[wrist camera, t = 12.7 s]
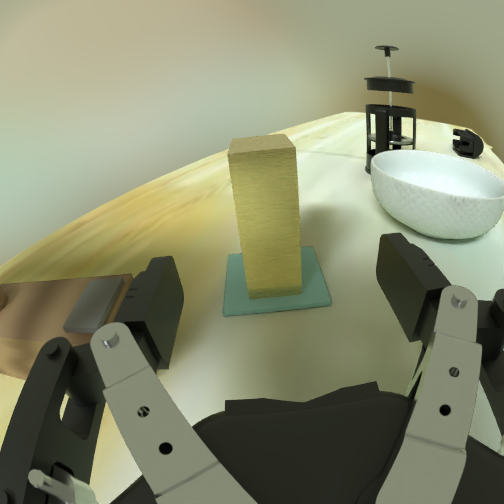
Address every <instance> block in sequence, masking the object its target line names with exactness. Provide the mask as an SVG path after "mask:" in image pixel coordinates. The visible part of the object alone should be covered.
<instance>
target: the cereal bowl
mask: <svg viewBox="0 0 504 504" xmlns="http://www.w3.org/2000/svg"><path fill="white" fill-rule="evenodd" d="M371 181H372V187H373V191H374V193H375V196H376V197H377V200H378V201H379V202H380V204H381V205H382V206H383V208H384V209H385V210H386V211H387V212H388V213H389V214H390V215H391V216H393V217H394V218H395V219H397V220H398V221H399V222H402V223H403V224H405V225H407V226H408V227H411V228H412V229H413V230H415V231H417V232H419V233H421V234H423V235H425V236H428V237H432V238H436V239H466V238H474V237H477V236H480V235H483V234H484V233H487V232H488V231H489V230H491V229H492V228H493V227H494V226H495V225H496V224H497V222H498V221H499V219H500V218H501V215H502V213H503V211H504V182H503V181H502V180H501V179H500V178H499V177H498V176H496V175H495V174H493V173H492V172H490V171H489V170H487V169H485V168H483V167H481V166H479V165H477V164H475V163H472V162H470V161H467V160H464V159H461V158H458V157H454V156H450V155H446V154H442V153H437V152H430V151H422V150H392V151H386V152H382V153H379V154H377V155H375V156H374V157H373V158H372V160H371Z"/></svg>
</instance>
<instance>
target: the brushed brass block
mask: <svg viewBox="0 0 504 504" xmlns="http://www.w3.org/2000/svg"><path fill="white" fill-rule="evenodd" d="M228 161H229V168H230V175H231V182H232V189H233V196H234V203H235V209H236V216H237V223H238V229H239V236H240V243H241V249H242V256H243V263H244V269H245V276H246V282H247V289H248V295H249V300H252V299H263V298H273V297H282V296H292V295H301V294H302V283H301V242H300V216H299V195H298V177H297V161H296V147H295V146H294V145H293V144H292V142H291V141H290V140H289V139H288V137H287V136H286V135H285V134H277V135H266V136H256V137H247V138H238V139H232V142H231V145H230V148H229V151H228Z"/></svg>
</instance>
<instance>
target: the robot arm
mask: <svg viewBox="0 0 504 504" xmlns="http://www.w3.org/2000/svg"><path fill="white" fill-rule="evenodd" d="M376 276H377V280H378V283H379V285H380V287H381V289H382V290H383V292H384V294H385V296H386V298H387V300H388V301H389V303H390V305H391V307H392V309H393V311H394V313H395V315H396V316H397V318H398V320H399V322H400V324H401V326H402V328H403V330H404V332H405V334H406V336H407V338H408V340H409V342H414V341H418V340H421V341H422V343H423V344H422V346H421V349H420V352H419V355H418V358H417V362H416V365H415V368H414V371H413V374H412V377H411V380H410V382H409V385H408V388H407V390H406V393H405V395H404V396H403V395H401V394H397V393H392V392H385V391H379V388H378V385H377V382H376V381H375V382H370V383H366V384H361V385H356V386H351V387H345V388H341V389H338V390H336V391H333V392H331V393H328V394H326V395H323V396H321V397H318V398H316V399H313V400H310V401H307V402H291V401H282V400H274V399H266V398H258V399H243V400H225V411H222V412H218V413H216V414H213V415H210V416H208V417H206V418H204V419H202V420H201V421H199V422H198V423H196V424H195V425H193V426H192V427H191V425H190V424H189V423H188V421H187V420H186V419H185V417H184V416H183V414H182V413H181V412H180V410H179V409H178V407H177V406H176V404H175V403H174V402H173V400H172V399H171V397H170V396H169V394H168V393H167V391H166V390H165V388H164V387H163V385H162V384H161V382H160V380H159V379H158V377H157V376H156V372H157V369H168V368H169V364H170V359H171V354H172V350H173V345H174V341H175V337H176V332H177V328H178V324H179V320H180V315H181V311H182V307H183V303H184V294H183V288H182V285H181V282H180V279H179V275H178V272H177V269H176V265H175V262H174V259H173V257H172V256H165V257H155V258H152V259H151V261H150V263H149V265H148V267H147V270H146V271H143V272H141V273H139V274H138V275H137V276H136V277H135V278H134V279H133V281H132V283H131V285H130V287H129V289H128V290H129V291H127V293H126V295H125V298H124V299H123V301H122V303H121V305H120V308H119V310H118V312H117V314H116V316H115V318H114V321H113V323H109V324H107V325H104V326H103V327H101V328H100V329H98V330H97V331H96V332H95V333H94V335H93V336H92V339H91V342H90V343H86V344H82V345H78V346H74V347H73V346H72V345H71V343H70V342H69V340H68V339H67V338H65V337H55V338H53V339H51V340H49V341H47V342H46V343H45V344H44V345H43V346H42V348H41V349H40V351H39V353H38V355H37V357H36V359H35V361H34V364H33V366H32V368H31V370H30V372H29V375H28V377H27V379H26V381H25V384H24V386H23V389H22V391H21V393H20V396H19V398H18V401H17V404H16V406H15V409H14V411H13V414H12V417H11V420H10V423H9V426H8V428H7V431H6V435H5V438H4V441H3V444H2V447H1V451H0V504H99V503H98V502H97V500H96V497H95V494H94V492H93V490H92V488H91V487H90V486H89V483H90V477H91V471H92V465H93V459H94V454H95V448H96V443H97V438H98V434H99V429H100V424H101V420H102V416H103V411H104V407H105V403H106V401H107V404H108V406H109V408H110V411H111V413H112V415H113V418H114V420H115V422H116V424H117V426H118V428H119V430H120V433H121V435H122V437H123V439H124V441H125V443H126V445H127V447H128V448H129V450H130V452H131V454H132V456H133V458H134V460H135V462H136V463H137V465H138V467H139V469H140V470H141V472H142V475H141V476H140V477H139V478H138V479H137V480H136V481H135V482H134V483H133V484H131V485H130V486H129V487H128V488H127V489H126V490H125V491H124V492H123V493H121V494H120V495H119V496H118V497H117V498H116V499H114V500H113V501H112V502H111V503H110V504H504V351H503V349H504V289H500V290H498V291H497V292H496V293H495V296H494V298H493V300H492V301H483V300H477V298H476V296H475V295H474V294H473V293H472V292H471V291H470V290H468V289H466V288H464V287H461V286H456V285H451V283H450V282H449V281H448V280H447V278H446V277H445V276H444V275H443V273H442V272H441V271H440V270H439V269H438V267H437V266H435V264H434V262H433V261H432V260H431V259H429V257H428V255H427V254H426V253H425V252H424V251H423V250H422V249H421V248H419V247H417V246H416V245H414V244H410V243H409V242H408V241H407V239H406V238H405V237H404V236H403V235H402V234H401V233H390V234H382V235H381V237H380V243H379V251H378V259H377V266H376ZM479 380H480V382H481V385H482V387H483V389H484V391H485V394H486V396H487V399H488V401H489V403H490V406H491V408H492V411H493V414H494V416H495V419H496V421H497V424H498V427H499V430H500V433H501V436H502V440H501V448H500V449H499V450H498V452H495V451H494V450H492V449H490V448H489V447H487V446H486V445H484V444H482V443H481V442H479V441H477V440H476V439H474V438H473V437H471V436H469V435H468V433H469V429H470V425H471V420H472V416H473V411H474V406H475V400H476V395H477V388H478V382H479ZM65 393H66V394H67V395H68V396H69V398H68V402H67V405H66V408H65V411H64V415H63V418H62V421H61V419H60V408H61V404H62V401H63V398H64V395H65Z"/></svg>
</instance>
